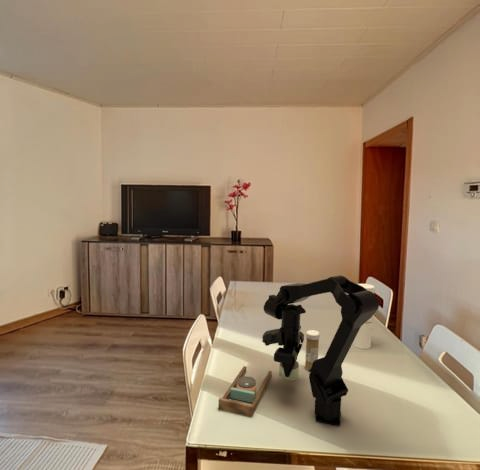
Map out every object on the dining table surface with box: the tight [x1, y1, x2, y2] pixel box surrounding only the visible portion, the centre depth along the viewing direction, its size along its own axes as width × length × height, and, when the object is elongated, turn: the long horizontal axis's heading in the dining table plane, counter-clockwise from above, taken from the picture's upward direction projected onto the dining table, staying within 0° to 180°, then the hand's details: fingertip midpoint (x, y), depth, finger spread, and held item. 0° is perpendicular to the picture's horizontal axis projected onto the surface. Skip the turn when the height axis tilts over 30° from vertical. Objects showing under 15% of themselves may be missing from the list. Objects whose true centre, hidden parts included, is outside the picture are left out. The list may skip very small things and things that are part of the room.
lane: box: [218, 365, 273, 418], centre depth 110 cm, size 10×23×3 cm, turn 162°
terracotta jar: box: [236, 375, 257, 396], centre depth 109 cm, size 6×6×4 cm
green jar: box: [278, 360, 300, 381], centre depth 111 cm, size 6×6×4 cm
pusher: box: [229, 387, 256, 404], centre depth 105 cm, size 7×1×3 cm, turn 71°
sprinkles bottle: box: [304, 329, 320, 371], centre depth 124 cm, size 5×5×13 cm
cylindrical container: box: [352, 283, 375, 350], centre depth 143 cm, size 7×7×25 cm
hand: (289, 371), depth 111 cm, fingers closed on green jar, 6 cm apart
